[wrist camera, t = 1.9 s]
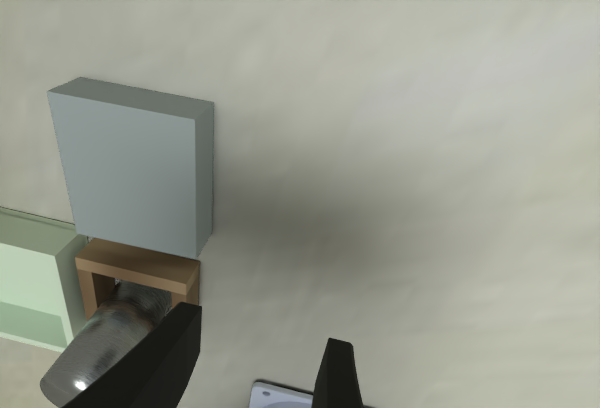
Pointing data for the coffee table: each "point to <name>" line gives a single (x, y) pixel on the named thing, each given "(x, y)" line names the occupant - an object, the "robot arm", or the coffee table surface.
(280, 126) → the coffee table surface
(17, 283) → the tray
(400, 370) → the coffee table surface
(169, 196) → the pale blue block
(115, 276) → the socket
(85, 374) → the dowel
